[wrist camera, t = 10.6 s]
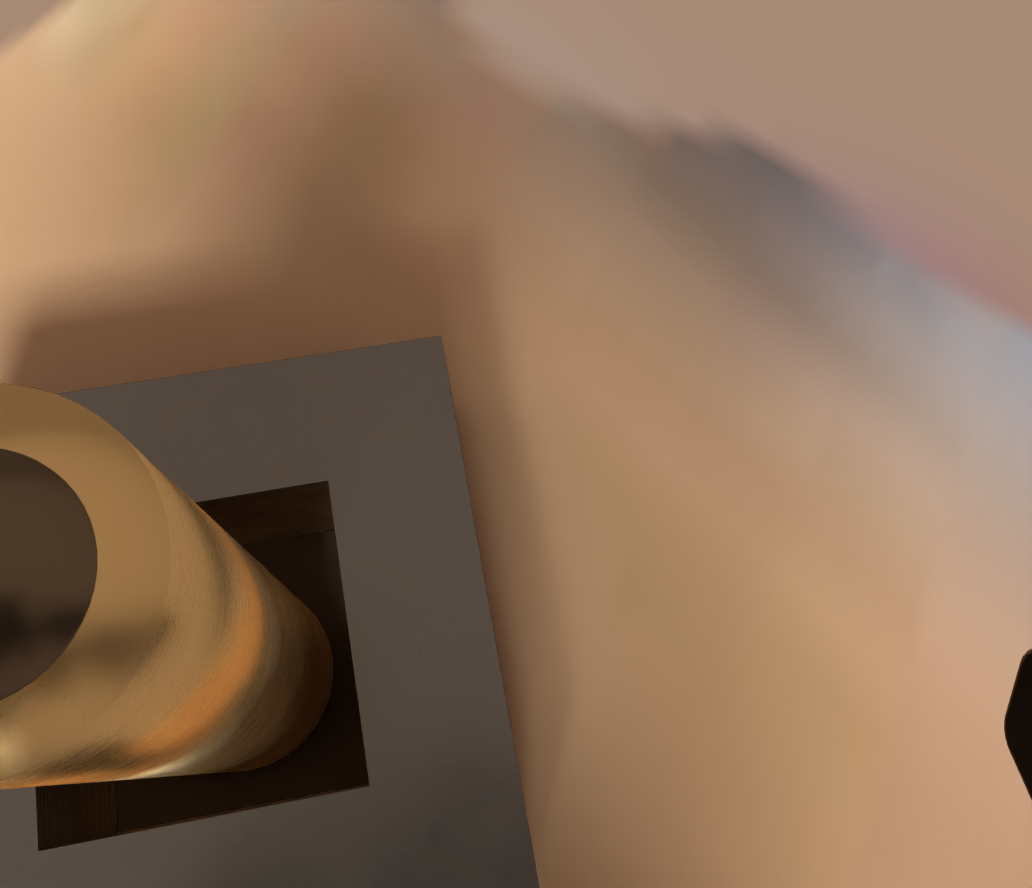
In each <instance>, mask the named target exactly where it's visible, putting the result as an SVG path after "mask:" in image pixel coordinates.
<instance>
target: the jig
mask: <svg viewBox="0 0 1032 888" xmlns="http://www.w3.org/2000/svg"><path fill="white" fill-rule="evenodd" d="M57 395H60V396H62V397H64V398H66V399H69V400H71V401H73V402H76V403H78V404H80V405H82V406H83V407H85V408H87V409H88V410H90V411H92V412H93V413H95V414H96V415H98V416H100V417H101V418H102V419H104V420H105V421H106V422H107V423H108V424H110V425H111V426H112V427H113V428H114V429H116V430H117V431H118V432H119V433H120V434H121V435H122V436H124V437H125V438H126V439H127V440H128V441H129V442H130V443H131V444H132V445H133V446H134V447H135V448H137V449H138V450H139V451H140V452H141V453H142V454H143V455H144V456H145V457H146V458H147V459H148V460H149V461H151V462H152V463H153V464H154V465H155V466H156V467H157V468H158V469H159V470H160V471H161V472H162V473H163V474H165V475H166V476H167V477H168V478H169V479H170V480H171V481H172V482H173V483H174V484H175V485H176V486H177V487H179V488H180V489H181V490H182V491H183V492H184V493H185V494H186V495H187V496H188V497H189V498H190V499H191V500H193V501H194V502H195V503H196V504H197V505H198V506H199V507H200V508H201V509H202V510H203V511H204V512H206V513H207V514H208V515H209V516H210V517H211V518H212V519H213V520H214V521H215V522H216V523H217V524H218V525H220V526H221V527H222V528H223V529H224V530H225V531H226V532H227V533H228V534H229V535H230V536H231V537H232V538H234V539H235V540H236V541H237V542H238V543H239V544H240V545H244V544H250V543H256V542H262V541H268V540H274V539H280V538H286V537H291V536H297V535H303V534H309V533H315V532H321V531H327V530H333V529H335V535H336V542H337V549H338V557H339V564H340V571H341V579H342V586H343V594H344V601H345V608H346V616H347V623H348V630H349V638H350V645H351V652H352V660H353V667H354V675H355V682H356V689H357V697H358V704H359V711H360V719H361V726H362V733H363V741H364V748H365V756H366V763H367V770H368V778H369V783H368V784H363V785H358V786H353V787H348V788H343V789H338V790H333V791H328V792H323V793H317V794H312V795H307V796H302V797H297V798H292V799H287V800H282V801H277V802H272V803H267V804H262V805H256V806H251V807H246V808H241V809H236V810H231V811H226V812H221V813H216V814H211V815H206V816H201V817H195V818H190V819H185V820H180V821H175V822H170V823H165V824H160V825H155V826H150V827H145V828H140V829H134V830H129V831H124V832H119V833H118V824H117V809H116V793H115V781H103V782H90V783H77V784H64V785H51V786H37V787H24V788H11V789H0V888H539V883H538V877H537V872H536V866H535V860H534V855H533V849H532V844H531V838H530V832H529V827H528V821H527V816H526V810H525V804H524V799H523V793H522V788H521V782H520V776H519V771H518V765H517V759H516V754H515V748H514V743H513V737H512V731H511V726H510V720H509V715H508V709H507V703H506V698H505V692H504V686H503V681H502V675H501V670H500V664H499V658H498V653H497V647H496V642H495V636H494V630H493V625H492V619H491V614H490V608H489V602H488V597H487V591H486V585H485V580H484V574H483V569H482V563H481V557H480V552H479V546H478V541H477V535H476V529H475V524H474V518H473V513H472V507H471V501H470V496H469V490H468V484H467V479H466V473H465V468H464V462H463V456H462V451H461V445H460V440H459V434H458V428H457V423H456V417H455V412H454V406H453V400H452V395H451V389H450V383H449V378H448V372H447V367H446V361H445V355H444V350H443V344H442V339H441V336H437V337H431V338H424V339H417V340H411V341H404V342H398V343H391V344H384V345H378V346H371V347H365V348H358V349H351V350H345V351H338V352H331V353H325V354H318V355H312V356H305V357H298V358H292V359H285V360H279V361H272V362H265V363H259V364H252V365H245V366H239V367H232V368H226V369H219V370H212V371H206V372H199V373H193V374H186V375H179V376H173V377H166V378H160V379H153V380H146V381H140V382H133V383H126V384H120V385H113V386H107V387H100V388H93V389H87V390H80V391H74V392H67V393H60V394H57Z"/></svg>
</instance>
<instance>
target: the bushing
mask: <svg viewBox="0 0 1032 888" xmlns="http://www.w3.org/2000/svg"><path fill="white" fill-rule="evenodd" d="M333 671H334V669H333V656H332V651H331V646H330V643H329V641H328V638H327V635H326V633H325V631H324V629H323V627H322V625H321V623H320V622H319V620H318V619H317V618H316V616H315V615H314V614H313V613H312V612H311V610H310V609H309V608H308V607H307V606H306V605H305V604H304V603H303V602H301V601H300V600H299V599H298V598H297V597H296V596H295V595H294V594H293V593H292V592H291V591H290V590H289V589H287V588H286V587H285V586H284V585H283V584H282V583H281V582H280V581H279V580H278V579H277V578H276V577H275V576H273V575H272V574H271V573H270V572H269V571H268V570H267V569H266V568H265V567H264V566H263V565H262V564H261V563H259V562H258V561H257V560H256V559H255V558H254V557H253V556H252V555H251V554H250V553H249V552H248V551H246V550H245V549H244V548H243V547H242V546H241V545H240V544H239V543H238V542H237V541H236V540H235V539H234V538H232V537H231V536H230V535H229V534H228V533H227V532H226V531H225V530H224V529H223V528H222V527H221V526H220V525H218V524H217V523H216V522H215V521H214V520H213V519H212V518H211V517H210V516H209V515H208V514H207V513H206V512H204V511H203V510H202V509H201V508H200V507H199V506H198V505H197V504H196V503H195V502H194V501H193V500H191V499H190V498H189V497H188V496H187V495H186V494H185V493H184V492H183V491H182V490H181V489H180V488H179V487H177V486H176V485H175V484H174V483H173V482H172V481H171V480H170V479H169V478H168V477H167V476H166V475H165V474H163V473H162V472H161V471H160V470H159V469H158V468H157V467H156V466H155V465H154V464H153V463H152V462H151V461H149V460H148V459H147V458H146V457H145V456H144V455H143V454H142V453H141V452H140V451H139V450H138V449H137V448H135V447H134V446H133V445H132V444H131V443H130V442H129V441H128V440H127V439H126V438H125V437H124V436H122V435H121V434H120V433H119V432H118V431H117V430H116V429H114V428H113V427H112V426H111V425H110V424H108V423H107V422H106V421H105V420H104V419H102V418H101V417H100V416H98V415H96V414H95V413H93V412H92V411H90V410H88V409H87V408H85V407H83V406H82V405H80V404H78V403H76V402H73V401H71V400H69V399H66V398H64V397H62V396H60V395H57V394H54V393H50V392H47V391H43V390H40V389H36V388H32V387H26V386H19V385H12V384H0V789H11V788H24V787H37V786H51V785H64V784H77V783H90V782H103V781H117V780H130V779H143V778H156V777H169V776H183V775H196V774H209V773H222V772H235V771H245V770H252V769H256V768H259V767H263V766H266V765H268V764H271V763H273V762H275V761H277V760H279V759H281V758H282V757H284V756H286V755H287V754H289V753H290V752H291V751H293V750H294V749H296V748H297V747H298V746H299V745H300V744H301V743H302V742H303V741H304V740H305V739H306V738H307V737H308V736H309V735H310V733H311V732H312V731H313V730H314V728H315V727H316V725H317V724H318V722H319V720H320V719H321V717H322V715H323V713H324V711H325V709H326V706H327V703H328V700H329V697H330V694H331V689H332V684H333Z"/></svg>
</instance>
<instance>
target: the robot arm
mask: <svg viewBox="0 0 1032 888" xmlns="http://www.w3.org/2000/svg"><path fill="white" fill-rule="evenodd" d="M1004 731H1005V738H1006V741H1007V745H1008V748H1009V750H1010V753H1011V755H1012V757H1013V759H1014V762H1015V764H1016V766H1017V768H1018V771H1019V773H1020V775H1021V777H1022V780H1023V782H1024V784H1025V786H1026V788H1027V791H1028V793H1029V795H1030V797H1031V800H1032V649H1030V650H1028V651H1027V652H1026V653H1025V655H1024V656H1023V657H1022V659H1021V662H1020V665H1019V669H1018V672H1017V676H1016V679H1015V683H1014V687H1013V690H1012V694H1011V697H1010V701H1009V704H1008V708H1007V711H1006V715H1005V721H1004Z"/></svg>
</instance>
